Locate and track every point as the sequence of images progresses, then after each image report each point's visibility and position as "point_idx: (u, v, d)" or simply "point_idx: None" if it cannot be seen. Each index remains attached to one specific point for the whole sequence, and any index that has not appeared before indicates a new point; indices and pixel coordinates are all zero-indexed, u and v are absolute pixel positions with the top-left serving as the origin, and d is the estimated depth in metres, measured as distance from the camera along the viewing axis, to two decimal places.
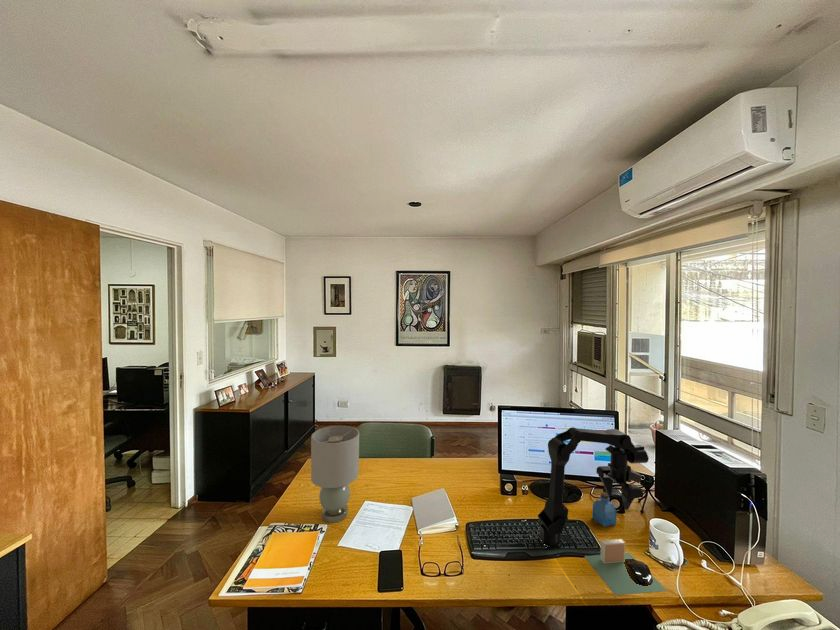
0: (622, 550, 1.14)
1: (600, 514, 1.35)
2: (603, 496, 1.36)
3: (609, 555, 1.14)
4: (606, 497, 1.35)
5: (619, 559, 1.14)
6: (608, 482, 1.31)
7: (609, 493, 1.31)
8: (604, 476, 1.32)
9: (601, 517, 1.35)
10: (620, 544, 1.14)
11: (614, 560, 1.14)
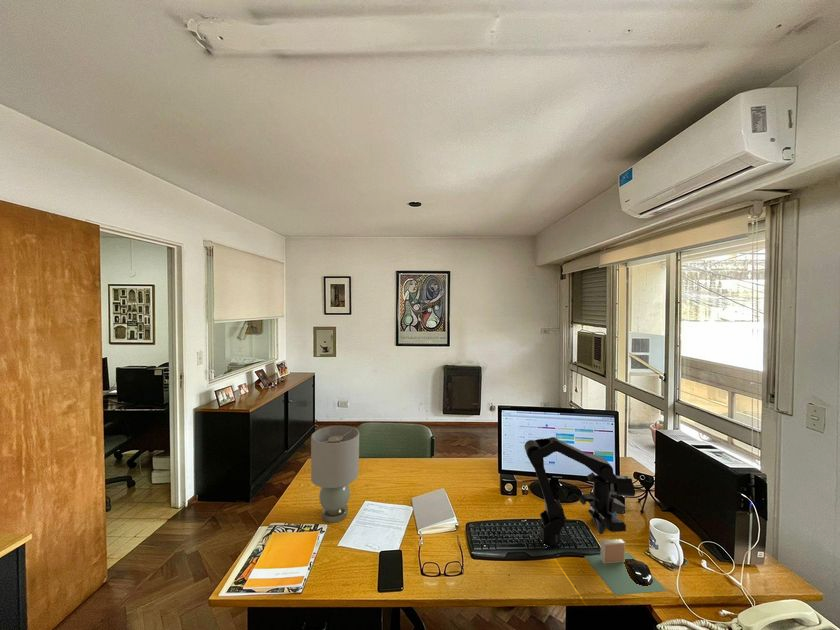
0: (622, 550, 1.14)
1: None
2: None
3: (609, 555, 1.14)
4: None
5: (619, 559, 1.14)
6: None
7: None
8: (594, 512, 1.22)
9: None
10: (620, 544, 1.14)
11: (614, 560, 1.14)
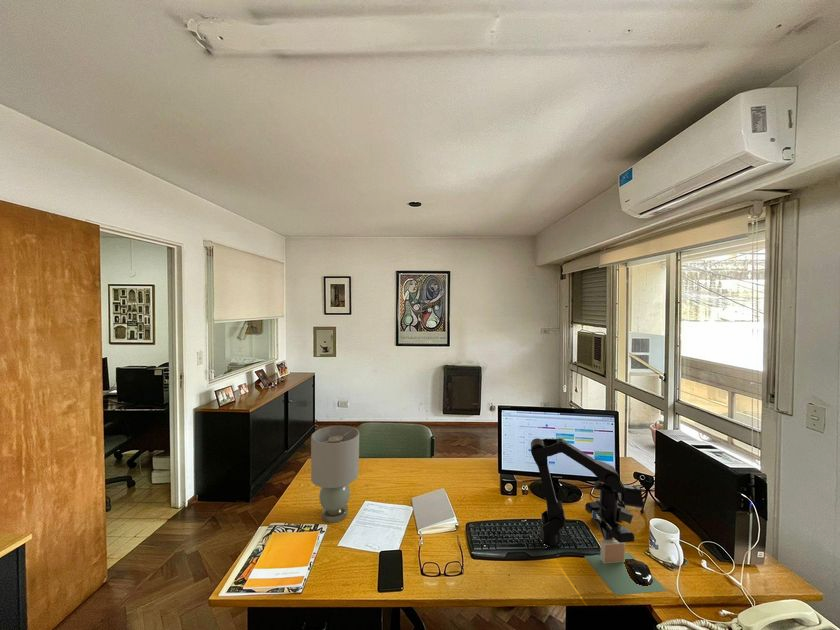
0: (622, 550, 1.14)
1: None
2: None
3: (609, 555, 1.14)
4: None
5: (619, 559, 1.14)
6: None
7: None
8: (601, 521, 1.18)
9: None
10: (620, 544, 1.14)
11: (614, 560, 1.14)
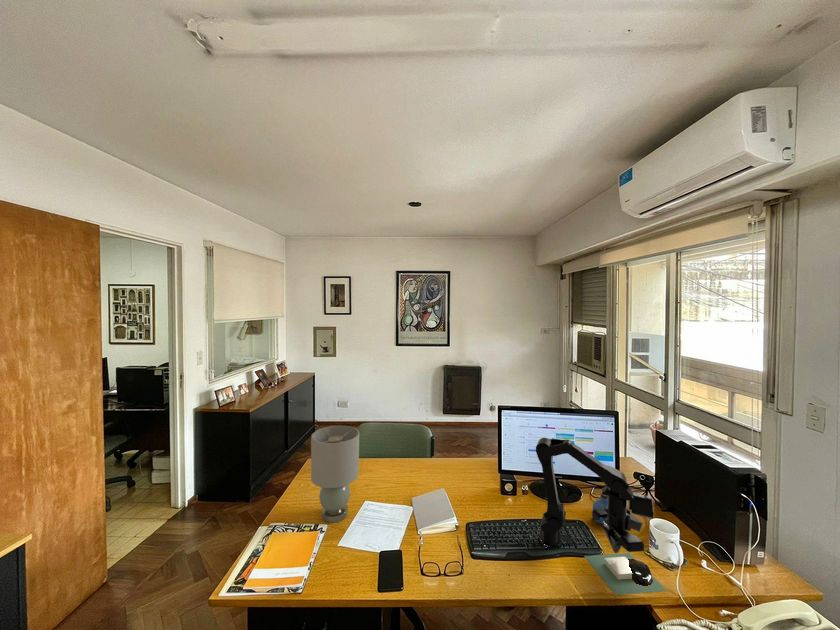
0: None
1: None
2: (603, 496, 1.36)
3: None
4: (606, 497, 1.35)
5: None
6: None
7: None
8: (609, 529, 1.14)
9: None
10: None
11: None
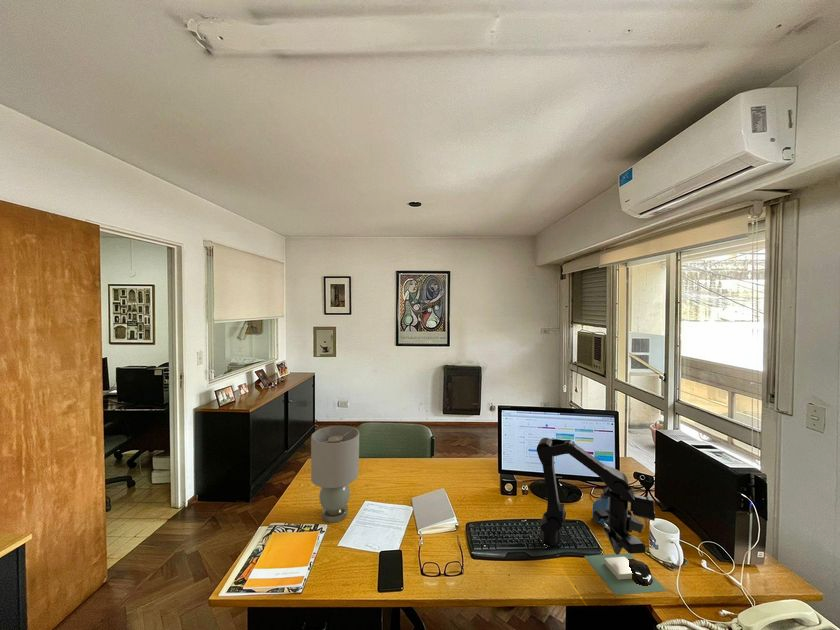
0: None
1: None
2: (603, 496, 1.36)
3: None
4: (606, 497, 1.35)
5: None
6: None
7: None
8: (610, 530, 1.14)
9: None
10: None
11: None
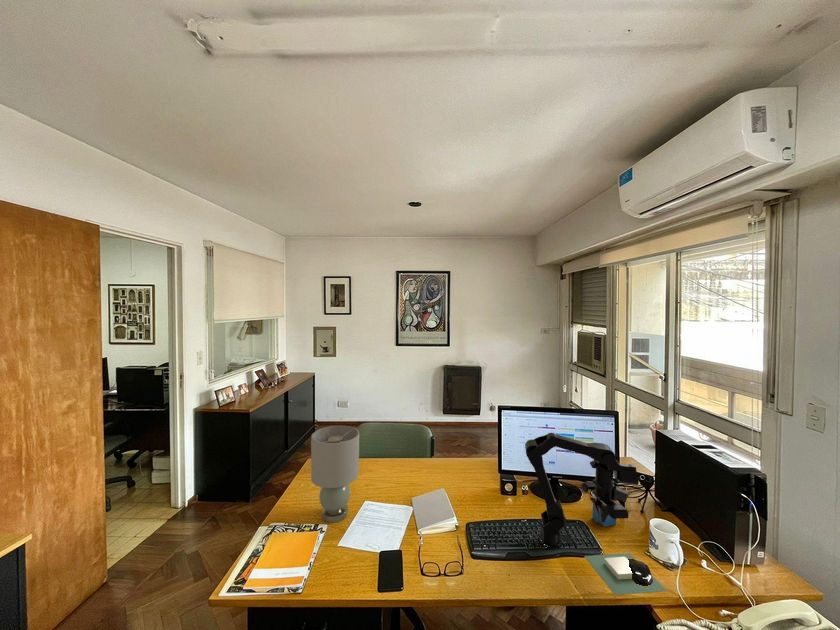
0: None
1: None
2: None
3: None
4: None
5: None
6: None
7: None
8: (596, 500, 1.20)
9: None
10: None
11: None
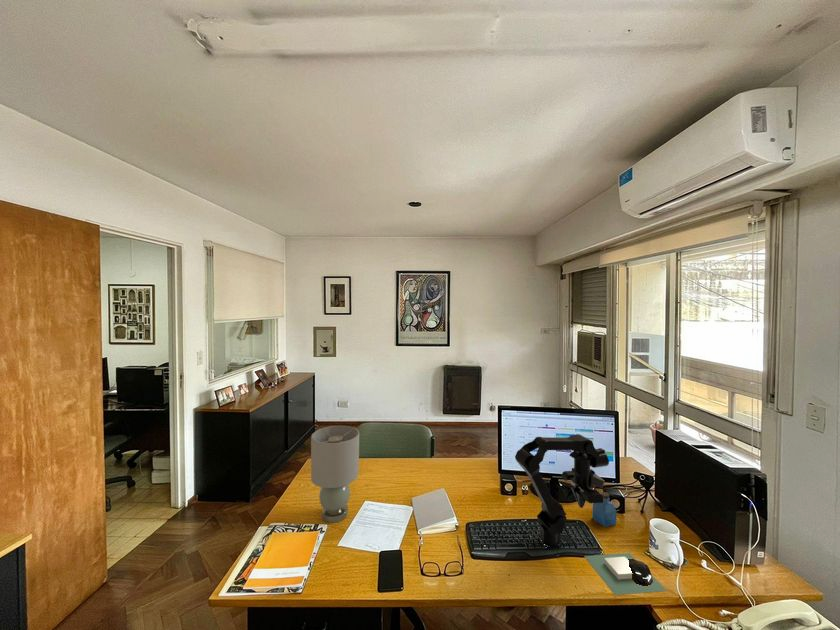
0: None
1: (600, 514, 1.35)
2: None
3: None
4: (606, 497, 1.35)
5: None
6: None
7: None
8: (575, 487, 1.28)
9: (601, 517, 1.35)
10: None
11: None
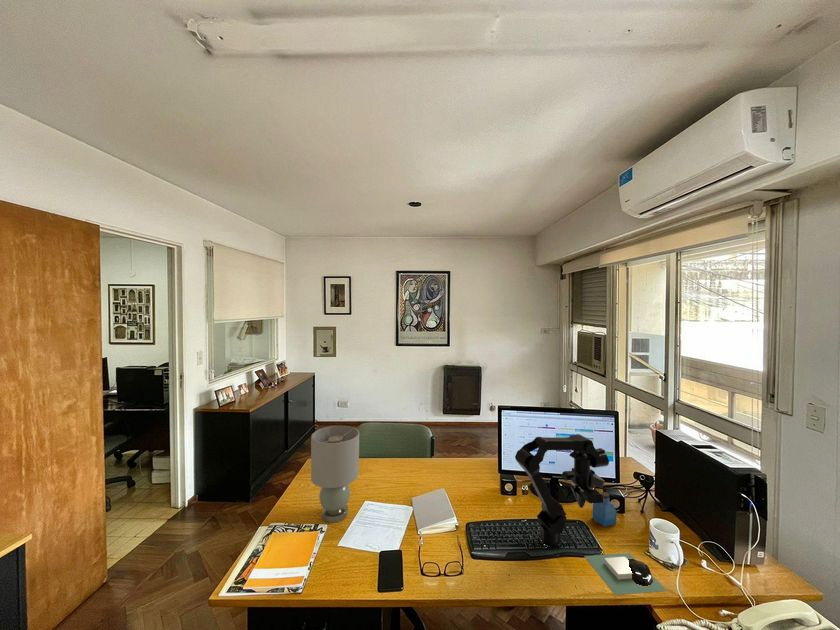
0: None
1: (600, 514, 1.35)
2: None
3: None
4: (606, 497, 1.35)
5: None
6: None
7: None
8: (575, 487, 1.28)
9: (601, 517, 1.35)
10: None
11: None
